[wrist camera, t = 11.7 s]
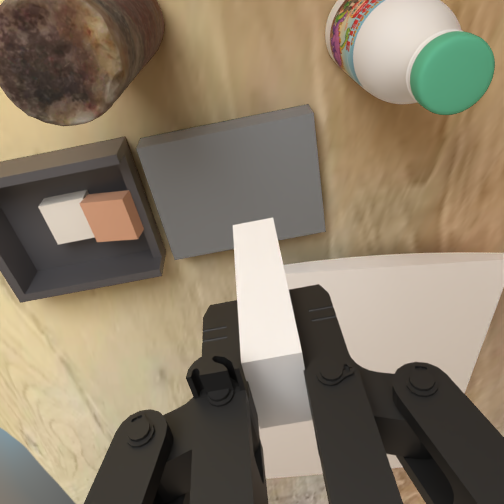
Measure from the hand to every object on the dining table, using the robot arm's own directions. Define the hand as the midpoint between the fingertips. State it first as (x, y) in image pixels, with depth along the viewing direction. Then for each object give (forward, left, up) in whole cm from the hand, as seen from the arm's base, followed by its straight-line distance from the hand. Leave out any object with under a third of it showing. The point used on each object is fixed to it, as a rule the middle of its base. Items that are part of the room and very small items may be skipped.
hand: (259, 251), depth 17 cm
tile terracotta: (+12, -16, -30) cm, 36 cm away
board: (+47, +10, -33) cm, 58 cm away
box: (+12, -21, -32) cm, 40 cm away
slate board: (+12, -2, -32) cm, 35 cm away
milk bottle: (-1, +13, -33) cm, 35 cm away
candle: (-6, -9, -33) cm, 34 cm away
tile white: (+12, -21, -32) cm, 40 cm away
